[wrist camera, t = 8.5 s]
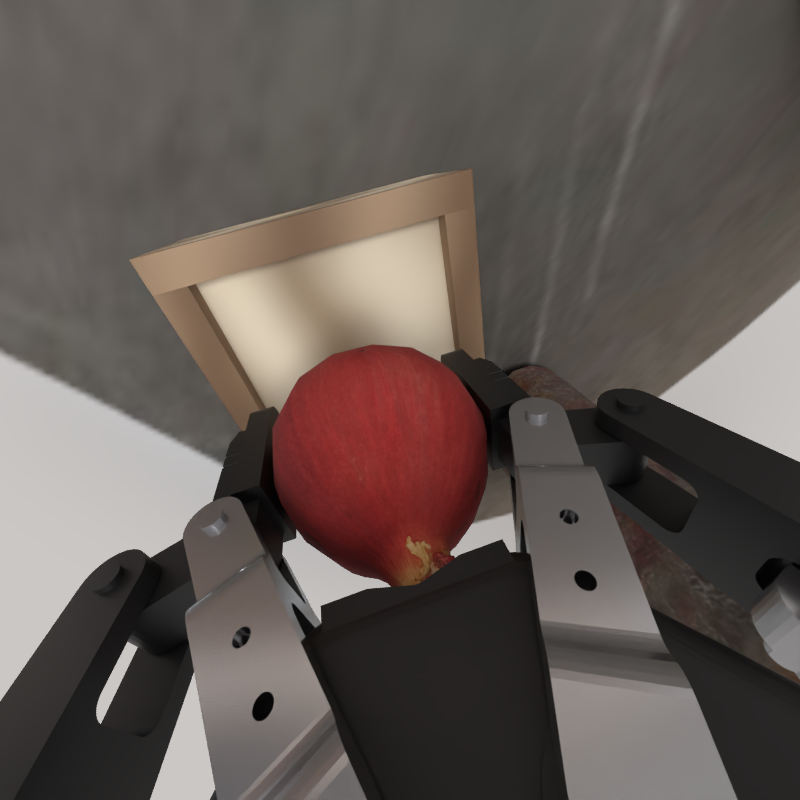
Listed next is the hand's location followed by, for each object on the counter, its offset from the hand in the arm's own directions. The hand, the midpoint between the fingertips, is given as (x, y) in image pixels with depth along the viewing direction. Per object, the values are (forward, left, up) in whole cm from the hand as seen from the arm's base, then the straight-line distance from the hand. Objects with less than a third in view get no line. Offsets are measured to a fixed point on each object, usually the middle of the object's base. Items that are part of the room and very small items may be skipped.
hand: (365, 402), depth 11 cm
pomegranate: (0, 0, -1) cm, 1 cm away
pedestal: (0, 0, -9) cm, 9 cm away
